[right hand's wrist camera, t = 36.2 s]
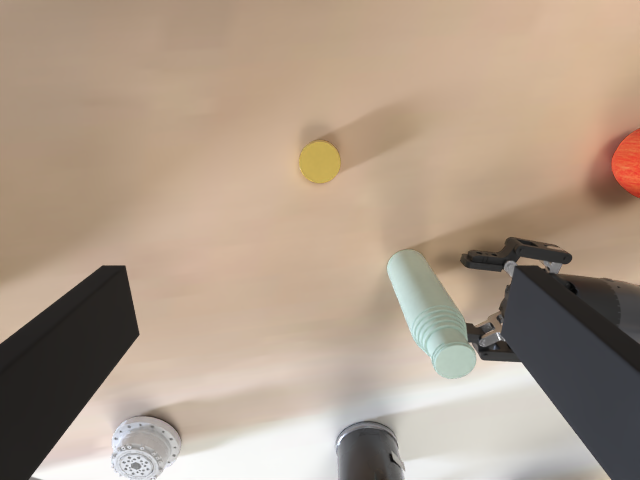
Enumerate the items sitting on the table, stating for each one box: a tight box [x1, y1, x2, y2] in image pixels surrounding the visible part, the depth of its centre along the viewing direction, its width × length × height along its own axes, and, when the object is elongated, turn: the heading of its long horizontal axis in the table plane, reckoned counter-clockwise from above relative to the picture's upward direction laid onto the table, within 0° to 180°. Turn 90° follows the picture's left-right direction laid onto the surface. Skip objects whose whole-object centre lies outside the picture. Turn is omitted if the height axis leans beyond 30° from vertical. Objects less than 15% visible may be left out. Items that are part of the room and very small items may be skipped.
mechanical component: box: [111, 416, 181, 480], centre depth 55 cm, size 10×4×10 cm
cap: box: [299, 140, 341, 183], centre depth 41 cm, size 4×4×2 cm
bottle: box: [387, 249, 476, 379], centre depth 38 cm, size 5×5×18 cm
